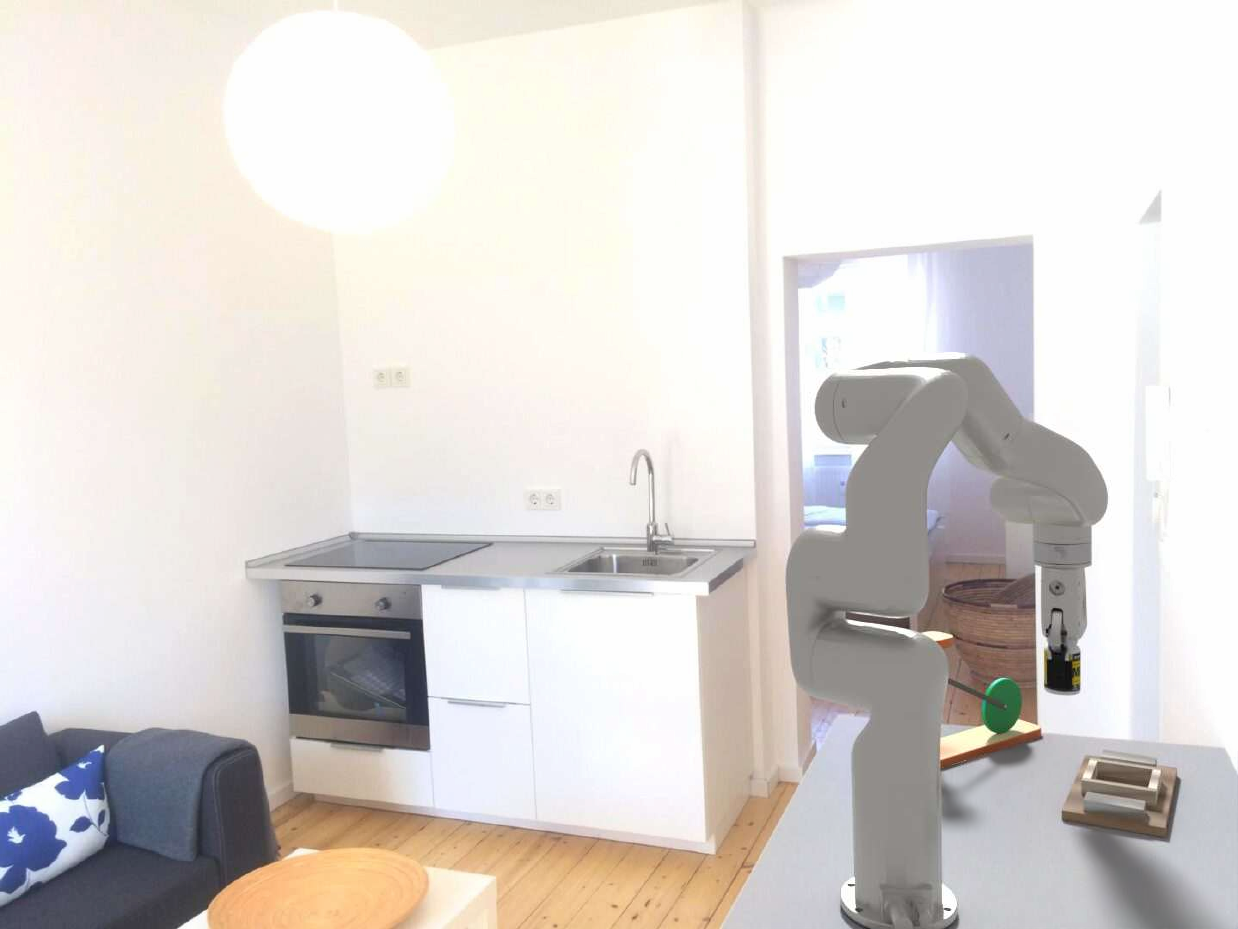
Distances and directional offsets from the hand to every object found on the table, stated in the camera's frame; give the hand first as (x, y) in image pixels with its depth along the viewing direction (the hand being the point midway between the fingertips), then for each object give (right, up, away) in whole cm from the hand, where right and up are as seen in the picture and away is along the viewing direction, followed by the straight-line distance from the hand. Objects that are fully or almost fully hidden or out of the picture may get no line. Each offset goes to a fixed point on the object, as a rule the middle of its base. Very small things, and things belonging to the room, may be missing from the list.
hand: (1062, 681), depth 144 cm
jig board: (+7, -15, -3) cm, 17 cm away
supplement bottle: (0, -2, 0) cm, 2 cm away
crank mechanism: (-6, -14, +18) cm, 24 cm away
